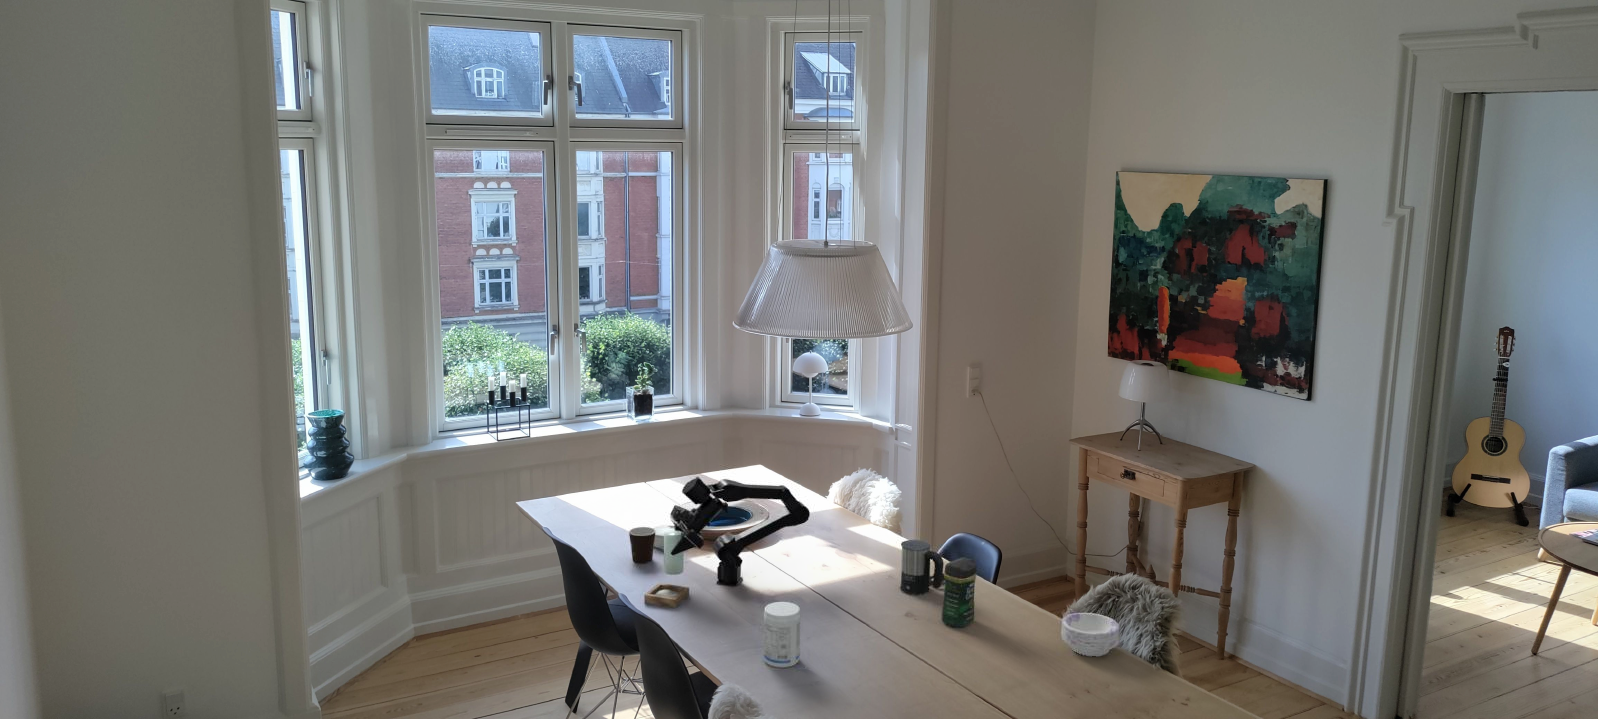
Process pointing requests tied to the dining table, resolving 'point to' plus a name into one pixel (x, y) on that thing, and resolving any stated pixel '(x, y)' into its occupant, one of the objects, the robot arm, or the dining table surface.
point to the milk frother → (920, 567)
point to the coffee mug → (642, 544)
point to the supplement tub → (781, 634)
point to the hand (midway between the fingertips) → (669, 550)
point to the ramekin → (661, 535)
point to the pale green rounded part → (671, 562)
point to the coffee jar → (959, 592)
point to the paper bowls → (1090, 633)
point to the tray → (666, 595)
